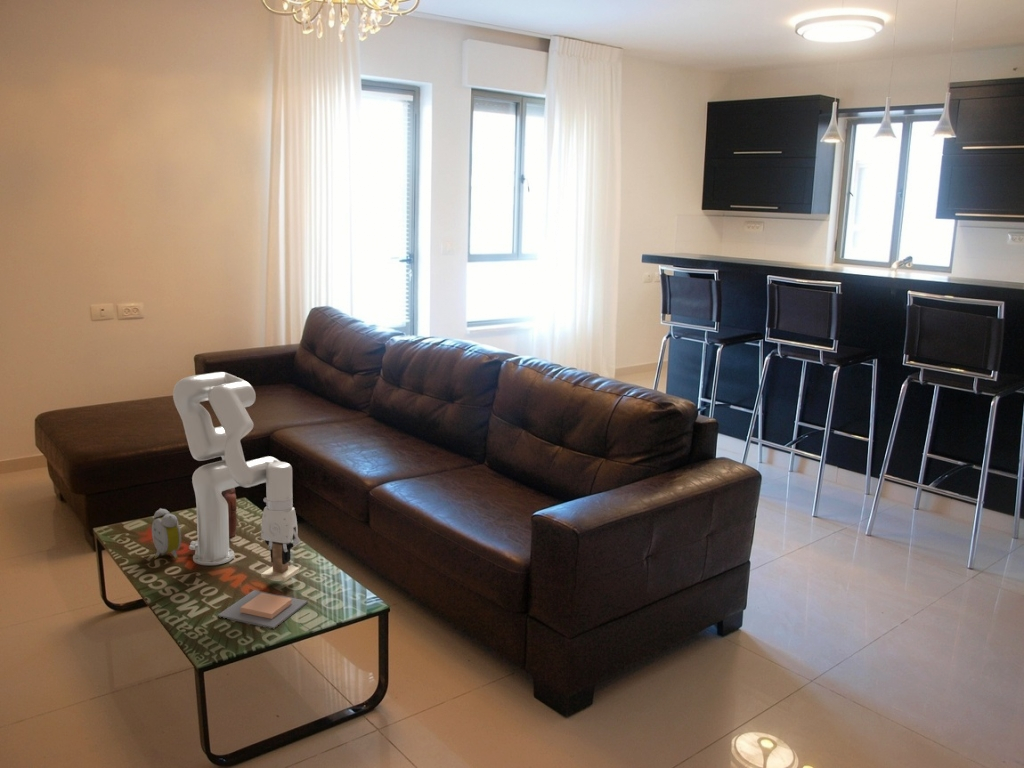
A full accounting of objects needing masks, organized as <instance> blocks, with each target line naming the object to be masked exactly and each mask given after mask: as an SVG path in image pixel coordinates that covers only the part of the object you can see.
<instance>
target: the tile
mask: <svg viewBox="0 0 1024 768" xmlns="http://www.w3.org/2000/svg"><path fill="white" fill-rule="evenodd" d="M276 595H277V594H276ZM276 595H271V594H266V593H261V594H259V595H258V596H256V597H255V598H253V599H252V600H251V601H249V602H248V603H246V604H245V605H243V606H242V607H241V612H242V613H246V614H251V615H256V616H260V617H265V618H270V619H272V618H274V617H275V616H276V615H278V614H279V613H280V612H282V611H283V610H284V609H285V608H287V607H288V606H289V605H291V604H292V599H290V598H285V597H280V596H276Z"/></svg>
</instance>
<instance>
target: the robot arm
mask: <svg viewBox="0 0 1024 768" xmlns="http://www.w3.org/2000/svg"><path fill="white" fill-rule="evenodd" d="M172 399H173V403H174V406H175V408H176V409H177V412H178V414H179V416H180V419H181V421H182V425H183V429H184V434H185V437H186V441H187V443H188V444H187V445H188V448H189V449H188V450H189V451H190V454H191V456H192V458H193V459H194V460H196V461H198V462H201V461H207V460H212V459H215V458H219V457H221V460H219V461H215V462H210V463H207V464H203V465H201V466H199V467H198V468H196V469H195V471H194V472H193V474H192V477H191V479H192V481H191V483H192V487H193V491H194V495H195V503H196V530H197V531H196V532H197V535H196V536H197V541H195V540H191V542H190V543H189V544H190V545H189V546H188V549H189V550H192V551H195V552H194V554H193V556H192V560H193V562H194V563H195V564H198V565H200V566H219V565H223V564H225V563H229V562H231V561H232V560H233V559H234V558H235V551H234V550H232V549H231V548H230V537H229V516H228V503H227V501H226V500H225V498H224V497H223V496H222V494H221V493H222V491H225V490H228V489H231V488H234V487H235V488H237V487H242V488H251V487H255V486H258V485H260V484H265V487H266V492H265V493H266V494H265V495H266V497H264V498H263V502H264V503H265V505H266V506H265V507H264V508H263V511H262V516H261V527H260V529H261V530H260V531H261V533H260V537H259V538H260V540H262V541H264V542H265V544H266V545H267V546H268V550H270V552H269V554H270V562H271V563H273V549H272V543H274V542H278V543H283V548H284V551H283V552H282V563H283V564H286V563H287V562H288V563H289V562H290V561H291V550H292V549H293V548H294V547H295V546H298V545H300V544H301V540H300V538H299V535H298V533H299V532H298V531H299V530H298V521H297V520H298V519H297V515H296V510H295V509H296V508H295V507H294V506H293V505H294V503H293V501H294V500H293V498H294V497H293V467H292V465H291V464H290V463H288V462H286V461H281V460H279V459H278V458H276V457H274V456H271V455H270V456H269V455H267V456H262V457H260V458H255V459H251V460H247V461H246V459H245V455H244V451H243V447H242V443H241V440H242V439H243V438H245V437H246V436H247V435H249V433H250V432H251V431H252V430H253V428H254V426H255V425H254V421H253V420H252V419H251V417H250V414H249V412H248V410H247V409H246V408H248V407H251V406H252V405H253V404H254V403H255V402H256V391H255V389H254V387H253V385H252V384H250V383H249V382H248V381H246V380H244V379H243V378H240V377H237V376H236V375H233V374H231V373H228V372H225V371H214V372H209V373H202V374H194V375H191V376H190V375H189V376H185V377H183V378H182V379H180V380H178V381H177V382H176V384H175V385H174V387H173V391H172ZM206 401H208V403H209V404H210V406H211V409H213V412H214V414H215V415H216V417H217V419H218V422H219V424H220V426H214V424H213V420H212V416H211V414H210V412H209V411H208V410H207V409H206V408H205V407H204V405H202V404H201V402H202V403H203V402H206Z"/></svg>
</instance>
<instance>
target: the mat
mask: <svg viewBox="0 0 1024 768" xmlns="http://www.w3.org/2000/svg"><path fill="white" fill-rule="evenodd" d="M261 593H266V594H271V595H276V596H280V597H285V598H290V599H292V604H291V605H289V606H288V607H287V608H285V609H284V610H283V611H282V612H280V613H279V614H278V615H276V616H275V617H274V618H272V619H270V618H265V617H260V616H256V615H251V614H246V613H242V612H241V607H242V606H243V605H245V604H246V603H248V602H249V601H251V600H252V599H253V598H255V597H256V596H258V595H259V594H261ZM308 601H309V600H305V599H301V598H294V597H290V596H287V595H281V594H275V593H271V592H267V591H261V590H256V589H254V590H252V591H251V592H249V593H247V594H246V595H245V596H243V597H242V598H241V599H239V600H237V601H235V602H234V603H233V604H232V605H230V606H228V607H227V608H225V609H224V610H223V611H221V612H219V613H218V614H217V617H218V616H219V617H218V618H221V617H223V618H222V619H225V618H227V619H226V620H231V621H236V622H238V623H239V622H240V623H243V624H248V625H253V626H257V627H262V626H263V627H262V628H266V627H269V628H268V629H271V628H273V629H272V630H275V629H276V628H277V627H279V626H280V625H281V624H282V623H284V622H285V621H286V620H287V619H289V618H290V617H291V616H292V615H294V614H295V613H297V612H298V611H299V610H300V609H302V608H303V607H305V605H307V604H308ZM283 621H284V622H283ZM278 625H279V626H278ZM275 627H276V628H275Z"/></svg>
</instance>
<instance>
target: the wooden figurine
mask: <svg viewBox="0 0 1024 768" xmlns="http://www.w3.org/2000/svg"><path fill="white" fill-rule="evenodd" d="M235 488H236V487H234V488H231V489H228V490H225V491H222V493H221V494H222V496H223V497H224V498H225V500H226V501H227V503H228V516H229V538H232V537H234V536H236V533H237V523H238V522H237V521H238V518H237V517H238V514H237V512H238V510H237V503H238V501H237V495H236V489H235Z"/></svg>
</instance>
